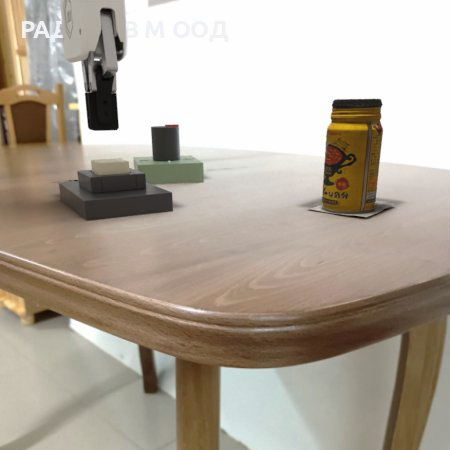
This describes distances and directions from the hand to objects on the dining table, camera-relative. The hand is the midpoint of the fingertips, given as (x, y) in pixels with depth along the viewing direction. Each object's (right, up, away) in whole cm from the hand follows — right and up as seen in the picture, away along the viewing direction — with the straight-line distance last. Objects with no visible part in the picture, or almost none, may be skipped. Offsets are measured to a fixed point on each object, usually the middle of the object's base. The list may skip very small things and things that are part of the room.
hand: (103, 129), depth 57 cm
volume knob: (+5, +3, +22) cm, 23 cm away
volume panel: (+5, 0, +23) cm, 24 cm away
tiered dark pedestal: (0, -8, +3) cm, 9 cm away
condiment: (+29, -9, +1) cm, 31 cm away
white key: (0, -5, +2) cm, 5 cm away
